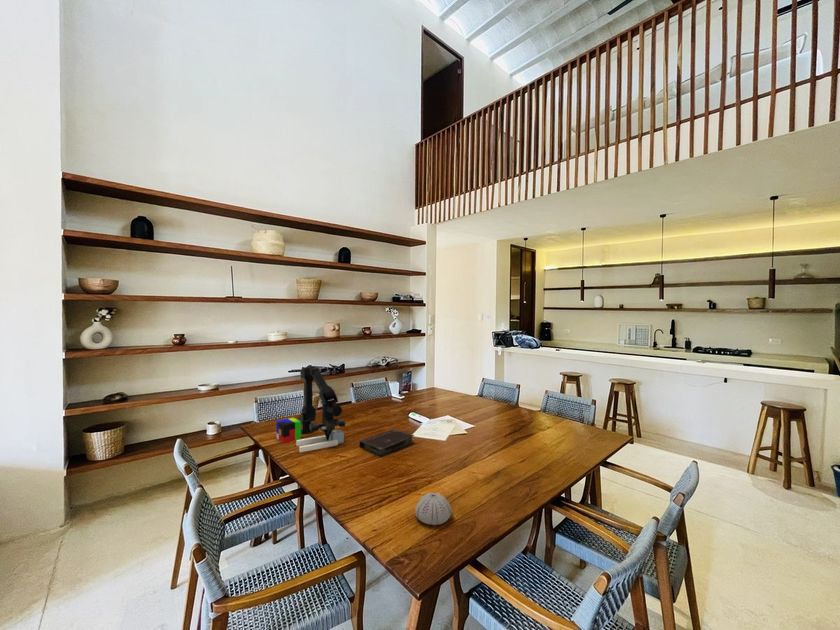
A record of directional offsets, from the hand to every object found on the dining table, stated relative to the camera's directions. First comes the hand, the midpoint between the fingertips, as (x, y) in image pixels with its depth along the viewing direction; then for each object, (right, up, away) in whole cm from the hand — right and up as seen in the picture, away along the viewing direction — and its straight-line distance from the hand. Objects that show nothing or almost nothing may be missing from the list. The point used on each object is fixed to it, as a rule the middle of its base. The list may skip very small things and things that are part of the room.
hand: (327, 440), depth 192 cm
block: (+5, -2, +2) cm, 5 cm away
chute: (-5, -2, -3) cm, 6 cm away
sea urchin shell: (+56, -4, -67) cm, 88 cm away
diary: (+34, -3, -3) cm, 34 cm away
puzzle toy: (-24, -2, +7) cm, 25 cm away
